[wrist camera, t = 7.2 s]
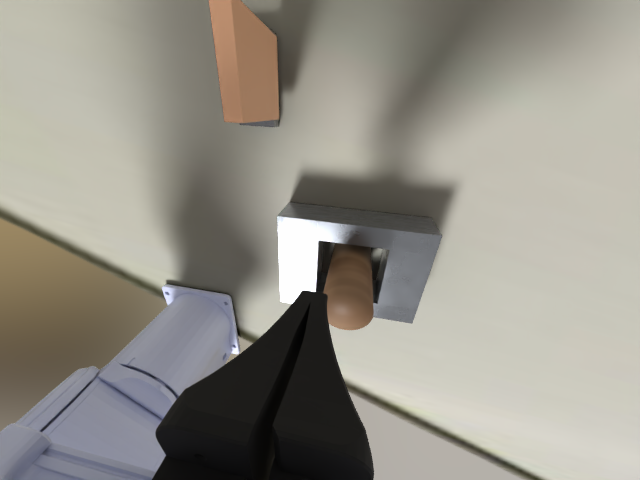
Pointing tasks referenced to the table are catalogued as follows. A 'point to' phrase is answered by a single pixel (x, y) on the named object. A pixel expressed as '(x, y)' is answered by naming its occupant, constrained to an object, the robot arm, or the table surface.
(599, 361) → the table surface
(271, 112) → the tan flat block
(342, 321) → the peg
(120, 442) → the robot arm
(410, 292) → the block
